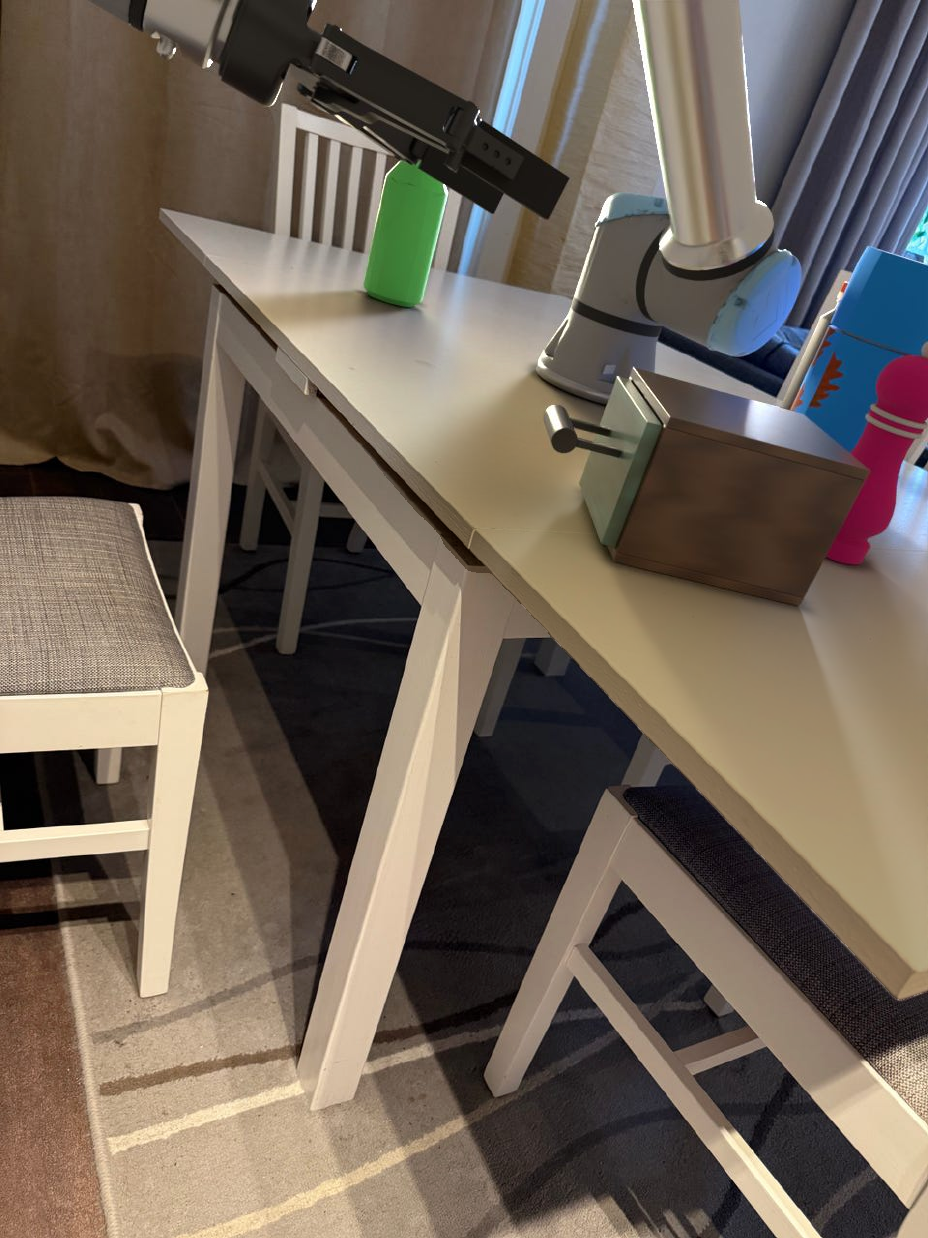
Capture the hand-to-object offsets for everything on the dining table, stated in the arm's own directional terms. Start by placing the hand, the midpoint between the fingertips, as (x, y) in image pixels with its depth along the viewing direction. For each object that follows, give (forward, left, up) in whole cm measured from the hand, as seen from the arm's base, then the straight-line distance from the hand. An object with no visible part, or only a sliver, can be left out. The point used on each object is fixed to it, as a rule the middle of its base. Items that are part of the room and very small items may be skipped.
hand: (526, 197), depth 62 cm
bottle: (-49, -48, -22) cm, 72 cm away
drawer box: (-12, +17, -22) cm, 30 cm away
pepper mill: (-29, +25, -22) cm, 44 cm away
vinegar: (-77, +7, -22) cm, 80 cm away
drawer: (-9, +13, -21) cm, 26 cm away
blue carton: (-45, +18, -22) cm, 53 cm away
